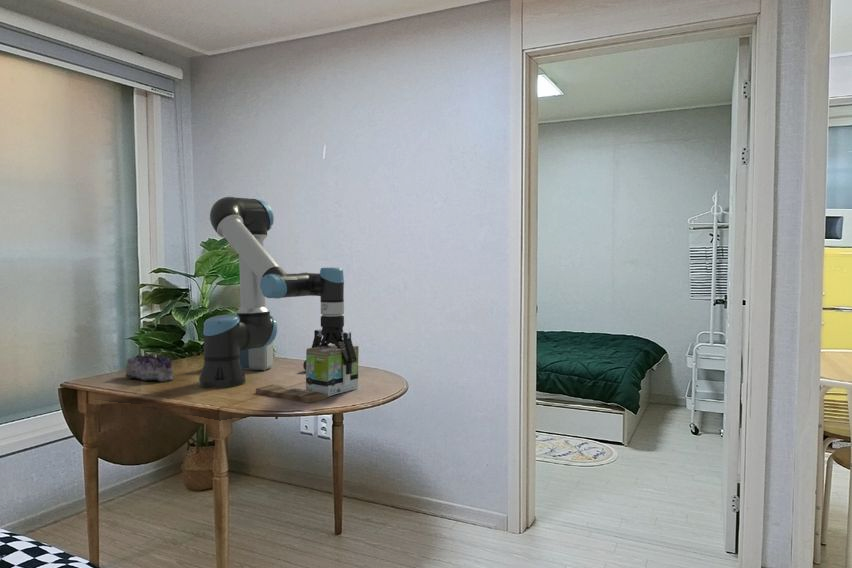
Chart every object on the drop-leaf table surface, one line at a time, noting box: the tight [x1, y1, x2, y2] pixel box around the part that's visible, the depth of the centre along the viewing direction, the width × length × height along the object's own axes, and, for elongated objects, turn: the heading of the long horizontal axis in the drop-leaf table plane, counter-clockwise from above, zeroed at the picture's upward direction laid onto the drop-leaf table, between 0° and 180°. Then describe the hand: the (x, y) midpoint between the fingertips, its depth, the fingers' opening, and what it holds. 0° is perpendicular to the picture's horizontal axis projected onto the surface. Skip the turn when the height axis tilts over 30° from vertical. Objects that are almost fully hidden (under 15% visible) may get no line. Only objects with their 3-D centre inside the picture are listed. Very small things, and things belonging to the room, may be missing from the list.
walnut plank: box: [255, 384, 328, 404], centre depth 187 cm, size 24×7×2 cm, turn 57°
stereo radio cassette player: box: [240, 341, 274, 372], centre depth 232 cm, size 21×8×20 cm, turn 77°
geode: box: [124, 353, 175, 383], centre depth 214 cm, size 20×12×10 cm, turn 64°
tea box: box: [305, 344, 359, 398], centre depth 193 cm, size 15×10×15 cm
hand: (332, 382), depth 194 cm, fingers open, 11 cm apart
